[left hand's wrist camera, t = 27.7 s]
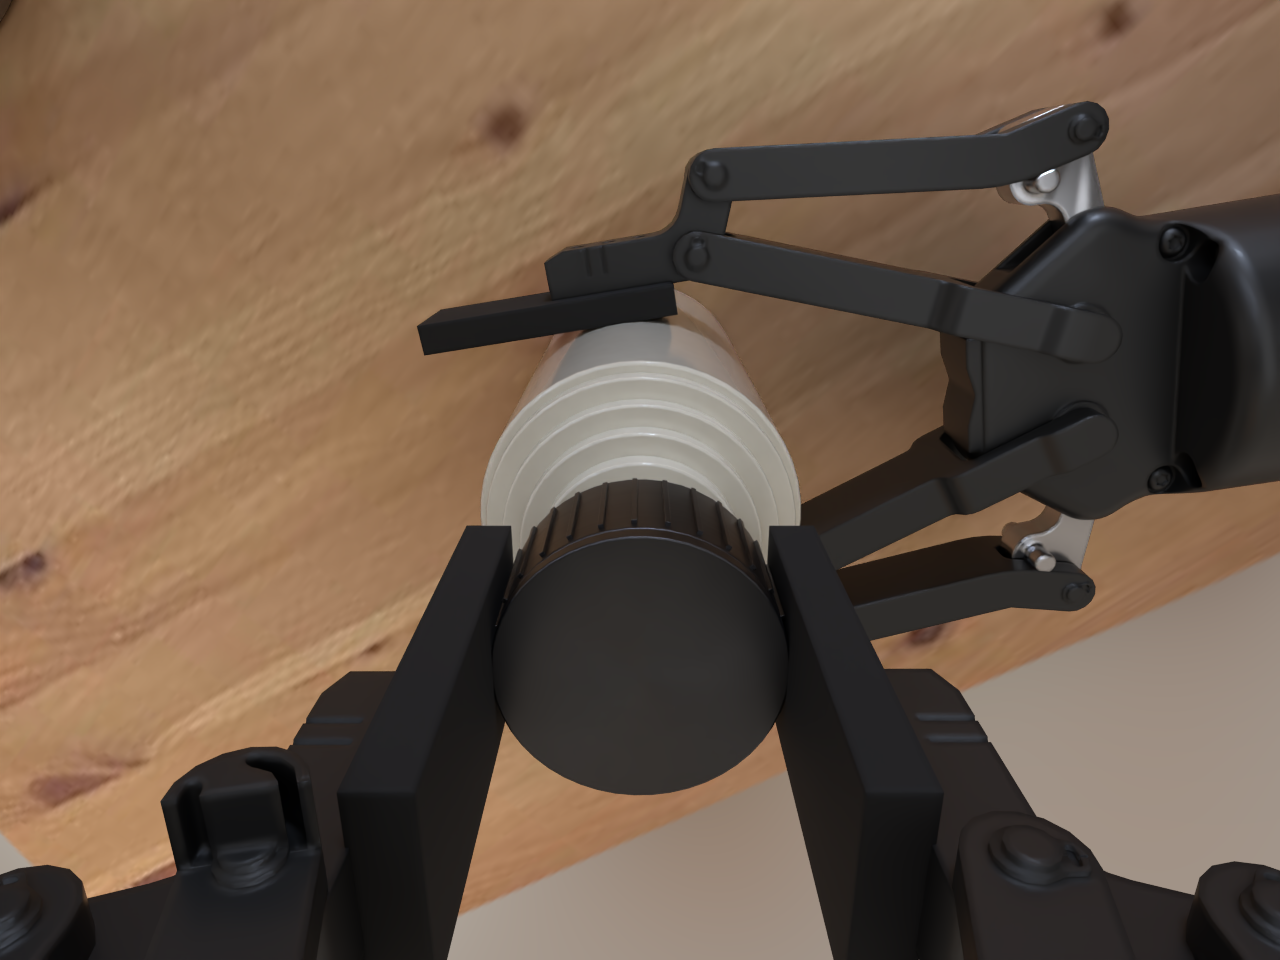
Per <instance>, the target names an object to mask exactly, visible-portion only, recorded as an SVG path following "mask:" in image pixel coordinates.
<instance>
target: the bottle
mask: <svg viewBox="0 0 1280 960" xmlns="http://www.w3.org/2000/svg"><path fill="white" fill-rule="evenodd" d="M674 292H675V298H676V305H677V312H678V315H673V316H667V317H660V318H654V319H648V320H642V321H635V322H629V323H622V324H617V325H611V326H604V327H598V328H592V329H586V330H580V331H573V332H567V333H561V334H555V335H554V336H553V338H552V340H551V342H550V344H549V346H548V347H547V349H546V351H545V353H544V355H543V357H542V359H541V361H540V363H539V364H538V366H537V368H536V370H535V372H534V374H533V376H532V378H531V380H530V381H529V383H528V385H527V387H526V389H525V391H524V393H523V395H522V397H521V398H520V400H519V402H518V404H517V406H516V408H515V410H514V412H513V414H512V415H511V417H510V419H509V421H508V423H507V425H506V427H505V429H504V431H503V432H502V434H501V436H500V438H499V440H498V442H497V444H496V446H495V448H494V451H493V453H492V455H491V457H490V459H489V462H488V466H487V469H486V472H485V476H484V480H483V486H482V493H481V525H482V526H511V529H512V546H513V564H514V561H515V557H516V554H517V551H518V549H523V547H524V545H525V543H526V541H527V540H528V538H529V535H530V531H531V529H532V527H533V526H535V527H537V525H538V524H539V523H540V522H541V521H542V520H543V519H544V518H545V517H546V516H547V515H548V514H549V513H550V510H551V509H552V508H553V507H555V508H556V507H558V506H559V505H560V504H562V503H563V502H564V501H566V500H568V499H570V498H571V497H573V496H575V493H577V492H580V493H581V492H583V491H585V490H588V489H590V488H593V487H595V486H599V485H602V484H603V483H604V482H608V483H610V482H616V481H623V480H632V478H637V479H648V480H658V481H662V480H667V482H670V483H674V484H678V485H682V486H685V487H688V488H690V489H691V487H692V488H695V489H696V491H698V492H700V493H702V494H704V495H706V496H708V497H710V498H712V499H713V500H715V501H716V502H717V501H720V502H721V503H722V506H723V507H725V508H726V509H727V510H728V511H729V512H730V513H732V514H733V515H734V516H735V517H736V518H737V519H739V518H740V519H741V520H742V521H743V523H744V527H745V528H746V530H747V531H748V532H749V534H750V535H751V537H752V539H753V540H754V541H755V540H757V541H758V542H759V545H760V548H761V551H762V554H763V557H764V561H765V564H767V556H768V538H769V526H800V522H801V497H800V489H799V482H798V478H797V474H796V471H795V467H794V464H793V461H792V458H791V456H790V454H789V452H788V449H787V447H786V445H785V443H784V441H783V439H782V437H781V435H780V433H779V431H778V430H777V428H776V426H775V424H774V422H773V420H772V418H771V416H770V415H769V413H768V411H767V409H766V407H765V405H764V403H763V401H762V399H761V398H760V396H759V394H758V392H757V390H756V388H755V386H754V384H753V383H752V381H751V379H750V377H749V375H748V373H747V371H746V369H745V368H744V366H743V364H742V362H741V360H740V358H739V356H738V354H737V353H736V351H735V349H734V347H733V345H732V343H731V341H730V339H729V337H728V336H727V334H726V332H725V331H724V329H723V327H722V326H721V324H720V323H719V322H718V320H717V319H716V318H715V317H714V316H713V314H712V313H711V312H710V311H709V310H707V309H706V308H705V307H704V306H703V305H702V304H700V303H699V302H698V301H696V300H695V299H693V298H692V297H690V296H688V295H686V294H684V293H682V292H680V291H678V290H675V289H674Z"/></svg>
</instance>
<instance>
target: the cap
mask: <svg viewBox="0 0 1280 960" xmlns="http://www.w3.org/2000/svg"><path fill="white" fill-rule="evenodd" d="M501 602H502V606H501V609H500V613H499V616H498V619H497V622H496V625H495V628H496V631H495V634H494V639H493V643H492V648H491V657H492V673H493V686H494V695H495V699H496V702H497V705H498V707H499V709H500V712H501V714H502V717H503V718H504V720H505V722H506V724H507V725H508V727H509V729H510V730H511V732H512V733H513V734H514V736H515V737H516V738H517V740H518V741H519V742H520V743H521V745H522V746H523V747H524V748H525V749H526V750H527V751H528V752H529V753H530V754H531V755H532V756H533V757H535V758H536V759H537V760H538V761H540V762H541V763H542V764H544V765H545V766H546V767H548V768H549V769H551V770H553V771H554V772H556V773H558V774H559V775H561V776H563V777H565V778H567V779H569V780H571V781H574V782H576V783H578V784H581V785H584V786H587V787H590V788H593V789H596V790H601V791H606V792H611V793H616V794H627V795H655V794H663V793H671V792H675V791H680V790H684V789H688V788H691V787H694V786H697V785H700V784H702V783H705V782H707V781H709V780H712V779H714V778H716V777H718V776H720V775H722V774H723V773H725V772H727V771H728V770H730V769H731V768H733V767H734V766H736V765H737V764H739V763H740V762H741V761H742V760H743V759H745V758H746V757H747V756H748V755H750V754H751V753H752V752H753V751H754V749H755V748H756V747H757V746H758V745H759V744H760V743H761V742H762V741H763V740H764V738H765V737H766V735H767V734H768V733H769V731H770V730H771V729H772V727H773V725H774V723H775V721H776V720H777V718H778V716H779V714H780V712H781V709H782V707H783V704H784V701H785V698H786V693H787V681H788V667H789V643H788V640H787V636H786V632H785V628H784V625H783V622H782V620H786V618H785V614H784V611H783V608H782V605H781V602H780V599H779V596H778V593H777V590H776V587H775V584H774V581H773V578H772V575H771V571H770V568H769V565H768V564H765V561H764V557H763V554H762V551H761V548H760V545H759V542H758V541H757V540H755V541H754V540H753V539H752V537H751V535H750V534H749V532H748V531H747V530H746V528H745V527H744V523H743V521H742V520H741V519H740V518H739V519H737V518H736V517H735V516H734V515H733V514H732V513H730V512H729V511H728V510H727V509H726V508H725V507H723V506H722V503H721V502H720V501H717V502H716V501H715V500H713V499H712V498H710V497H708V496H706V495H704V494H702V493H700V492H698V491H696V489H695V488H692V487H691V489H690V488H688V487H685V486H682V485H678V484H674V483H670V482H667V480H662V481H658V480H648V479H637V478H632V480H623V481H616V482H610V483H608V482H604V483H603V484H602V485H599V486H595V487H593V488H590V489H588V490H585V491H583V492H581V493H580V492H577V493H575V496H573V497H571V498H570V499H568V500H566V501H564V502H563V503H562V504H560V505H559V506H558V507H556V508H555V507H553V508H552V509H551V510H550V513H549V514H548V515H547V516H546V517H545V518H544V519H543V520H542V521H541V522H540V523H539V524H538V525H537V527H535V526H533V527H532V529H531V531H530V535H529V538H528V540H527V541H526V543H525V545H524V547H523V549H518V551H517V554H516V557H515V561H514V564H513V567H512V570H511V573H510V576H509V579H508V582H507V585H506V588H505V592H504V595H503V598H502V601H501Z"/></svg>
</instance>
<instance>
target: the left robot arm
mask: <svg viewBox="0 0 1280 960" xmlns="http://www.w3.org/2000/svg"><path fill="white" fill-rule="evenodd" d="M11 1H12V0H0V21H1V20H2V18H3V16H4V15H5V13H6V11H7V10H8V8H9V5H10V3H11ZM767 564H768V565H769V568H770V571H771V575H772V578H773V581H774V584H775V587H776V590H777V593H778V596H779V599H780V602H781V605H782V608H783V611H784V614H785V618H786V620H782V622H783V625H784V628H785V632H786V636H787V640H788V643H789V667H788V681H787V693H786V698H785V701H784V704H783V707H782V709H781V712H780V714H779V716H778V718H777V720H776V721H775V722H776V726H777V730H778V734H779V738H780V743H781V747H782V751H783V755H784V759H785V763H786V767H787V771H788V775H789V779H790V783H791V787H792V792H793V796H794V800H795V804H796V808H797V812H798V816H799V820H800V824H801V828H802V832H803V836H804V840H805V845H806V849H807V853H808V857H809V861H810V865H811V869H812V873H813V877H814V881H815V885H816V890H817V894H818V898H819V902H820V906H821V910H822V914H823V918H824V922H825V926H826V930H827V935H828V939H829V943H830V947H831V951H832V955H833V959H834V960H1280V871H1279V870H1276V869H1274V868H1271V867H1268V866H1265V865H1259V864H1251V863H1243V862H1235V861H1234V862H1229V863H1224V864H1219V865H1213V866H1211V867H1210V868H1209V869H1208V870H1207V871H1206V872H1205V873H1204V874H1203V875H1202V876H1201V877H1200V878H1199V882H1198V885H1197V889H1196V892H1195V895H1191V894H1187V893H1183V892H1179V891H1175V890H1170V889H1166V888H1162V887H1158V886H1154V885H1150V884H1145V883H1141V882H1137V881H1133V880H1129V879H1126V878H1123V877H1120V876H1117V875H1114V874H1110V873H1108V872H1105V871H1103V869H1102V867H1101V866H1100V864H1099V863H1098V861H1097V859H1096V858H1095V856H1094V855H1093V853H1092V851H1091V850H1090V849H1089V848H1088V847H1087V846H1086V845H1084V844H1083V843H1082V842H1081V841H1080V840H1079V839H1077V838H1076V837H1075V836H1074V835H1073V834H1071V833H1070V832H1069V831H1067V830H1065V829H1063V828H1061V827H1059V826H1057V825H1055V824H1053V823H1051V822H1049V821H1048V820H1046V819H1044V818H1040V817H1036V815H1035V813H1034V812H1033V810H1032V808H1031V807H1030V805H1029V803H1028V802H1027V800H1026V799H1025V797H1024V795H1023V794H1022V792H1021V790H1020V789H1019V787H1018V786H1017V784H1016V782H1015V781H1014V779H1013V777H1012V776H1011V774H1010V773H1009V771H1008V769H1007V768H1006V766H1005V764H1004V763H1003V761H1002V759H1001V758H1000V756H999V755H998V753H997V751H996V750H995V748H994V747H993V745H992V743H991V742H988V737H987V735H986V734H985V732H984V730H983V729H982V727H981V725H980V724H979V722H978V721H975V715H974V714H973V712H972V711H971V709H970V707H969V706H968V704H967V702H966V701H965V699H964V698H963V696H962V694H961V693H960V691H959V690H958V689H957V688H955V687H954V686H953V685H951V684H950V683H949V682H947V681H946V680H945V679H943V678H942V677H941V676H940V675H938V674H937V673H936V672H934V671H933V670H932V669H884V668H883V666H882V664H881V662H880V660H879V658H878V656H877V654H876V652H875V650H874V648H873V646H872V644H871V642H870V640H869V638H868V636H867V634H866V631H865V629H864V627H863V625H862V623H861V621H860V619H859V617H858V615H857V613H856V611H855V609H854V607H853V605H852V603H851V601H850V599H849V597H848V595H847V593H846V591H845V589H844V586H843V584H842V582H841V580H840V578H839V576H838V574H837V572H836V570H835V568H834V566H833V564H832V562H831V560H830V558H829V556H828V554H827V552H826V550H825V548H824V546H823V544H822V541H821V539H820V537H819V535H818V533H817V531H816V529H815V527H814V526H769V538H768V556H767ZM512 567H513V546H512V529H511V526H466V528H465V530H464V532H463V534H462V536H461V539H460V541H459V543H458V545H457V547H456V549H455V551H454V553H453V555H452V557H451V559H450V561H449V563H448V565H447V567H446V569H445V571H444V573H443V575H442V577H441V579H440V582H439V584H438V586H437V588H436V590H435V592H434V594H433V596H432V598H431V600H430V602H429V604H428V606H427V608H426V610H425V612H424V614H423V616H422V618H421V620H420V622H419V624H418V627H417V629H416V631H415V633H414V635H413V637H412V639H411V641H410V643H409V645H408V647H407V649H406V651H405V653H404V655H403V657H402V659H401V661H400V663H399V665H398V667H397V670H396V671H350V672H349V673H347V674H346V675H345V676H343V677H342V678H341V679H340V680H338V681H337V682H336V683H334V684H333V685H332V686H330V687H329V688H328V689H327V690H325V691H324V692H323V693H322V694H321V695H320V697H319V699H318V700H317V702H316V704H315V705H314V707H313V708H312V710H311V712H310V713H309V715H308V717H307V718H306V724H303V725H302V726H301V728H300V730H299V731H298V733H297V735H296V736H295V738H294V742H293V745H290V746H289V748H288V749H287V750H286V749H282V748H279V747H249V748H245V749H241V750H237V751H232V752H228V753H224V754H221V755H219V756H217V757H215V758H213V759H210V760H208V761H206V762H204V763H202V764H200V765H197V766H196V767H194V768H193V769H192V770H190V771H189V772H188V773H186V774H185V775H184V776H182V777H181V778H180V779H178V780H177V781H176V782H174V784H173V785H172V786H171V788H170V789H169V790H168V792H167V793H166V795H165V796H164V797H163V799H162V800H161V801H160V802H161V806H162V810H163V814H164V818H165V822H166V826H167V831H168V835H169V839H170V843H171V847H172V851H173V855H174V860H175V864H176V868H177V872H176V875H174V876H172V877H169V878H165V879H162V880H159V881H156V882H153V883H150V884H145V885H141V886H137V887H133V888H129V889H125V890H121V891H116V892H112V893H108V894H104V895H100V896H96V897H92V898H87V896H86V893H85V889H84V886H83V883H82V881H81V880H80V879H79V878H78V877H77V876H76V875H75V874H74V873H73V872H72V871H71V870H70V869H66V868H61V867H56V866H51V865H42V866H34V867H26V868H18V869H15V870H12V871H10V872H7V873H4V874H1V875H0V960H447V957H448V953H449V949H450V945H451V941H452V937H453V933H454V929H455V924H456V920H457V916H458V912H459V908H460V904H461V900H462V896H463V892H464V888H465V884H466V880H467V875H468V871H469V867H470V863H471V859H472V855H473V851H474V847H475V843H476V839H477V835H478V831H479V826H480V822H481V818H482V814H483V810H484V806H485V802H486V798H487V794H488V790H489V786H490V781H491V777H492V773H493V769H494V765H495V761H496V757H497V753H498V749H499V745H500V741H501V737H502V732H503V728H504V724H505V720H504V718H503V717H502V714H501V712H500V709H499V707H498V705H497V702H496V699H495V695H494V686H493V673H492V657H491V648H492V643H493V639H494V634H495V631H496V628H495V625H496V622H497V619H498V616H499V613H500V609H501V606H502V602H501V601H502V598H503V595H504V592H505V588H506V585H507V582H508V579H509V576H510V573H511V570H512Z"/></svg>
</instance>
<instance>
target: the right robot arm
mask: <svg viewBox="0 0 1280 960" xmlns="http://www.w3.org/2000/svg"><path fill="white" fill-rule="evenodd" d="M1108 130H1109V118H1108V116H1107V114H1106V111H1105V109H1104V108H1102V107H1101V106H1100V105H1099V104H1098V103H1094V102H1089V101H1086V102H1080V103H1073V104H1065V105H1059V106H1053V107H1048V108H1042V109H1037V110H1032V111H1030V112H1027V113H1025V114H1023V115H1020V116H1018V117H1016V118H1013V119H1011V120H1009V121H1006V122H1004V123H1002V124H999V125H997V126H995V127H992V128H990V129H988V130H985V131H983V132H981V133H978V134H976V135H967V136H948V137H928V138H908V139H889V140H869V141H849V142H830V143H810V144H790V145H771V146H751V147H731V148H713V149H709V150H705V151H702V152H699V153H697V154H696V155H694V156H693V157H692V158H691V159H690V160H689V162H688V163H687V165H686V167H685V173H684V180H683V185H682V190H681V195H680V200H679V206H678V209H677V212H676V215H675V217H674V219H673V220H672V222H671V223H670V224H669V225H668V226H667V227H665V228H663V229H662V230H660V231H657V232H654V233H648V234H642V235H636V236H630V237H624V238H618V239H612V240H606V241H600V242H594V243H589V244H582V245H576V246H570V247H566V248H565V249H563V250H561V251H560V252H558V253H557V254H555V255H553V256H552V257H550V258H549V259H548V260H547V261H546V262H545V263H544V265H545V270H546V275H547V280H548V285H549V290H550V292H546V293H540V294H534V295H528V296H522V297H516V298H509V299H503V300H497V301H491V302H485V303H479V304H473V305H467V306H461V307H454V308H448V309H442V310H440V311H438V312H437V313H435V314H434V315H433V316H431V317H430V318H428V319H427V320H425V321H424V322H422V323H421V324H420V325H418V326H417V328H418V332H419V336H420V340H421V344H422V348H423V352H424V355H430V354H437V353H443V352H449V351H455V350H461V349H468V348H474V347H480V346H486V345H493V344H499V343H505V342H511V341H517V340H524V339H530V338H536V337H542V336H548V335H555V334H561V333H567V332H573V331H580V330H586V329H592V328H598V327H604V326H611V325H617V324H622V323H629V322H635V321H642V320H648V319H654V318H660V317H667V316H673V315H678V312H677V305H676V298H675V292H674V285H673V283H676V282H682V281H688V280H690V281H694V282H699V283H704V284H709V285H714V286H719V287H724V288H729V289H734V290H739V291H744V292H749V293H754V294H759V295H764V296H769V297H774V298H779V299H784V300H789V301H794V302H799V303H804V304H809V305H814V306H819V307H824V308H829V309H834V310H839V311H844V312H849V313H854V314H859V315H864V316H869V317H874V318H879V319H884V320H889V321H894V322H899V323H904V324H909V325H914V326H920V327H924V328H929V329H933V330H936V331H939V332H940V344H941V355H942V358H943V361H944V364H945V367H946V370H947V373H948V376H949V383H948V387H947V391H946V396H945V400H944V404H943V421H944V425H943V426H941V427H939V428H937V429H935V430H933V431H931V432H929V433H927V434H925V435H923V436H921V437H920V438H918V439H917V440H916V441H915V442H913V444H912V446H911V448H910V449H909V450H908V451H906V452H905V453H903V454H901V455H899V456H897V457H895V458H893V459H891V460H889V461H887V462H885V463H883V464H881V465H879V466H877V467H875V468H873V469H871V470H869V471H867V472H865V473H863V474H861V475H859V476H857V477H855V478H853V479H851V480H849V481H847V482H845V483H843V484H841V485H839V486H837V487H835V488H833V489H831V490H829V491H827V492H825V493H823V494H821V495H819V496H817V497H815V498H813V499H811V500H809V501H807V502H805V503H803V504H801V522H800V526H814V527H815V529H816V531H817V533H818V535H819V537H820V539H821V541H822V544H823V546H824V548H825V550H826V552H827V554H828V556H829V558H830V560H831V562H832V564H833V566H834V568H835V570H836V572H837V574H838V576H839V578H840V580H841V582H842V584H843V586H844V589H845V591H846V593H847V595H848V597H849V599H850V601H851V603H852V605H853V607H854V609H855V611H856V613H857V615H858V617H859V619H860V621H861V623H862V625H863V627H864V629H865V631H866V634H867V636H868V638H869V640H870V641H871V640H875V639H880V638H884V637H888V636H892V635H896V634H901V633H905V632H909V631H913V630H918V629H922V628H926V627H930V626H934V625H939V624H943V623H947V622H951V621H956V620H960V619H964V618H968V617H972V616H977V615H981V614H985V613H989V612H994V611H998V610H1002V609H1006V608H1010V607H1014V608H1028V609H1043V610H1057V611H1077V610H1079V609H1081V608H1084V607H1085V606H1086V605H1088V604H1089V603H1090V602H1091V601H1092V599H1093V597H1094V595H1095V585H1094V582H1093V580H1092V579H1091V578H1090V577H1089V576H1087V575H1086V574H1085V573H1084V572H1083V571H1082V570H1081V565H1082V562H1083V558H1084V555H1085V551H1086V548H1087V544H1088V541H1089V537H1090V534H1091V530H1092V527H1093V523H1094V520H1095V519H1100V518H1103V517H1106V516H1108V515H1110V514H1112V513H1114V512H1115V511H1117V510H1119V509H1120V508H1122V507H1123V506H1125V505H1126V504H1128V503H1130V502H1132V501H1134V500H1136V499H1139V498H1141V497H1144V496H1148V495H1153V494H1172V493H1195V492H1206V491H1213V490H1219V489H1226V488H1233V487H1240V486H1247V485H1254V484H1261V483H1268V482H1274V481H1280V194H1275V195H1269V196H1262V197H1256V198H1250V199H1244V200H1238V201H1232V202H1226V203H1220V204H1213V205H1207V206H1201V207H1195V208H1189V209H1183V210H1177V211H1171V212H1164V213H1158V214H1152V215H1146V216H1135V215H1132V214H1129V213H1127V212H1125V211H1122V210H1120V209H1117V208H1113V207H1105V206H1104V202H1103V197H1102V193H1101V188H1100V183H1099V179H1098V174H1097V170H1096V165H1095V160H1094V156H1093V152H1094V151H1095V150H1097V149H1098V148H1099V147H1100V146H1101V144H1102V143H1103V142H1104V141H1105V139H1106V136H1107V133H1108ZM992 187H996V189H997V191H998V193H999V196H1000V197H1001V198H1002V199H1003V200H1004V201H1006V202H1008V203H1011V204H1017V205H1029V206H1032V205H1039V206H1041V207H1042V208H1043V209H1044V210H1045V211H1046V212H1047V215H1048V217H1049V219H1048V220H1047V221H1046V222H1045V223H1044V224H1043V225H1042V226H1040V227H1039V228H1038V229H1037V230H1036V231H1035V232H1034V233H1033V234H1032V235H1030V236H1029V237H1028V238H1027V239H1026V240H1025V241H1024V242H1023V243H1022V244H1020V245H1019V246H1018V247H1017V248H1016V249H1015V250H1014V251H1013V252H1012V253H1010V254H1009V255H1008V256H1007V257H1006V258H1005V259H1004V260H1003V261H1001V262H1000V263H999V264H998V265H997V266H996V267H995V268H994V269H993V270H991V271H990V272H989V273H988V274H987V275H986V276H985V277H984V278H983V279H981V280H980V281H979V282H974V281H969V280H964V279H959V278H954V277H949V276H944V275H939V274H934V273H930V272H924V271H917V270H911V269H906V268H901V267H896V266H891V265H886V264H881V263H876V262H871V261H867V260H862V259H857V258H852V257H847V256H842V255H837V254H832V253H827V252H822V251H817V250H813V249H808V248H803V247H798V246H793V245H788V244H783V243H778V242H773V241H768V240H763V239H759V238H754V237H749V236H744V235H739V234H734V233H729V232H725V231H726V226H727V222H728V217H729V212H730V208H731V203H732V201H745V200H765V199H785V198H805V197H825V196H845V195H865V194H885V193H905V192H925V191H946V190H966V189H983V188H992ZM1018 492H1021V493H1023V494H1025V495H1027V496H1029V497H1031V498H1033V499H1035V500H1037V501H1039V502H1041V503H1042V504H1044V505H1046V507H1045V509H1044V510H1043V512H1042V513H1041V514H1040V515H1039V516H1038V517H1036V518H1035V519H1033V520H1030V521H1026V522H1020V523H1016V522H1011V523H1008V524H1006V525H1005V526H1004V527H1003V529H1002V536H980V537H971V538H966V539H961V540H956V541H952V542H948V543H944V544H940V545H936V546H932V547H928V548H924V549H919V550H915V551H911V552H907V553H903V554H899V555H895V556H891V557H887V558H883V559H879V560H875V561H871V562H867V563H862V564H858V565H854V566H850V567H846V568H842V567H844V566H846V565H848V564H850V563H852V562H854V561H857V560H859V559H861V558H863V557H865V556H867V555H869V554H871V553H873V552H875V551H877V550H879V549H881V548H883V547H885V546H888V545H890V544H892V543H894V542H896V541H898V540H900V539H902V538H904V537H906V536H908V535H910V534H912V533H914V532H916V531H918V530H921V529H923V528H925V527H927V526H929V525H931V524H933V523H935V522H937V521H939V520H941V519H943V518H945V517H947V516H950V515H954V514H961V515H968V514H973V513H976V512H979V511H981V510H983V509H985V508H987V507H989V506H991V505H993V504H996V503H998V502H1000V501H1002V500H1004V499H1006V498H1008V497H1010V496H1012V495H1014V494H1016V493H1018ZM840 568H842V569H840Z"/></svg>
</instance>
